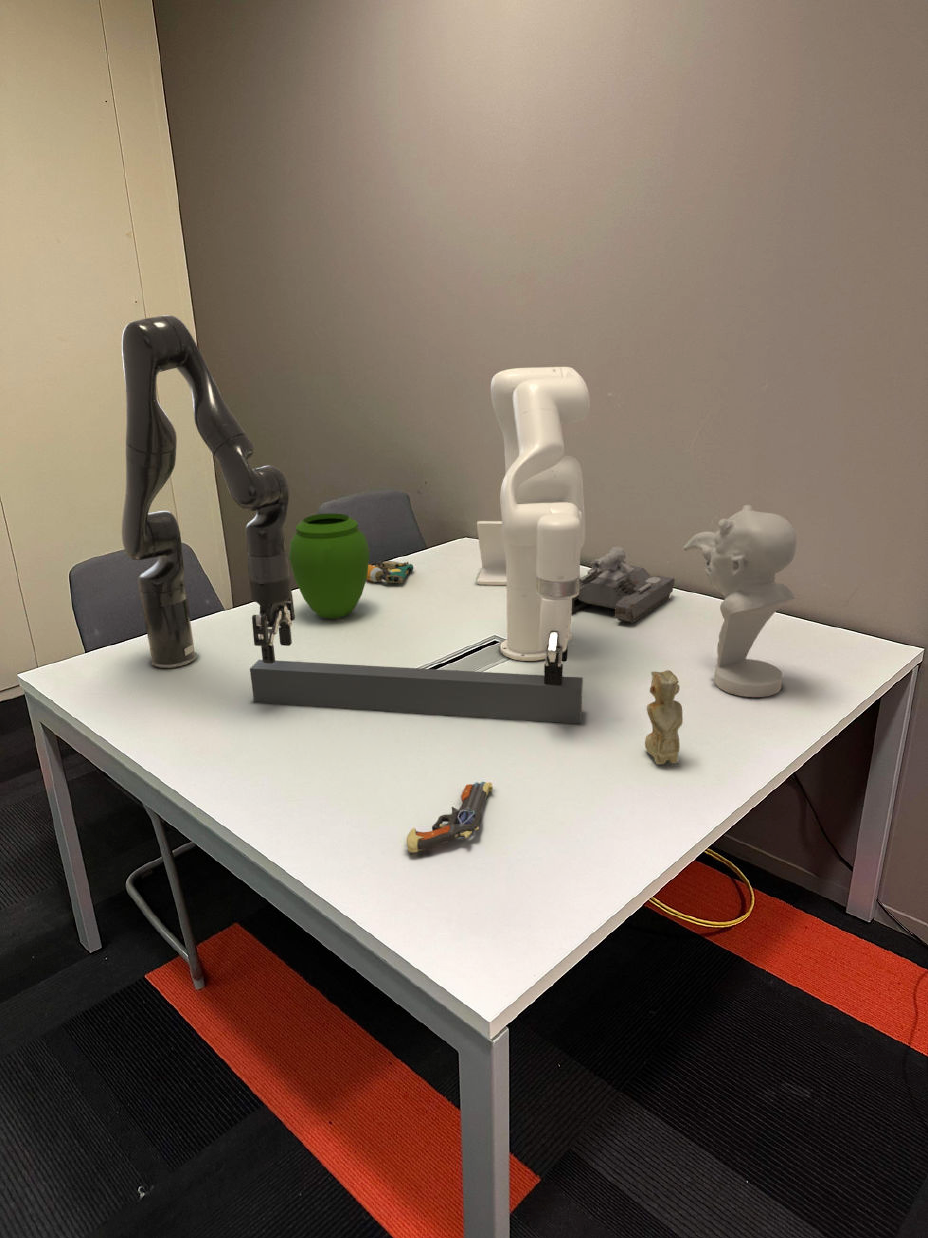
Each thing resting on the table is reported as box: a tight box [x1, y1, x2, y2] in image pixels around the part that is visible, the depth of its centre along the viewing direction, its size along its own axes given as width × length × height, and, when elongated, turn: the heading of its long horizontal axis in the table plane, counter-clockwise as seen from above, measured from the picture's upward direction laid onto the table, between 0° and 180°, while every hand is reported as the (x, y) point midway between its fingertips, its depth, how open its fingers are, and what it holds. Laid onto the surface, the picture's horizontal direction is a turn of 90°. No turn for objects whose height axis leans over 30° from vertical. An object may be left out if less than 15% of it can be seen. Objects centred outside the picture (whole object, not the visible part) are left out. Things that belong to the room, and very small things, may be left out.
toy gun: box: [406, 781, 494, 853], centre depth 127 cm, size 3×19×10 cm
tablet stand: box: [476, 520, 507, 586], centre depth 236 cm, size 18×25×17 cm
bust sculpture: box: [682, 504, 797, 698], centre depth 167 cm, size 16×24×35 cm, turn 28°
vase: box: [288, 512, 370, 620], centre depth 209 cm, size 20×20×24 cm
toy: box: [572, 546, 676, 624], centre depth 212 cm, size 25×20×15 cm
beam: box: [249, 659, 584, 725], centre depth 163 cm, size 64×4×7 cm, turn 79°
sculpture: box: [644, 669, 684, 765], centre depth 141 cm, size 6×7×15 cm
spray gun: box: [366, 560, 414, 584], centre depth 240 cm, size 4×17×15 cm
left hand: (277, 653), depth 166 cm, fingers open, 8 cm apart
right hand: (556, 672), depth 156 cm, fingers open, 9 cm apart
